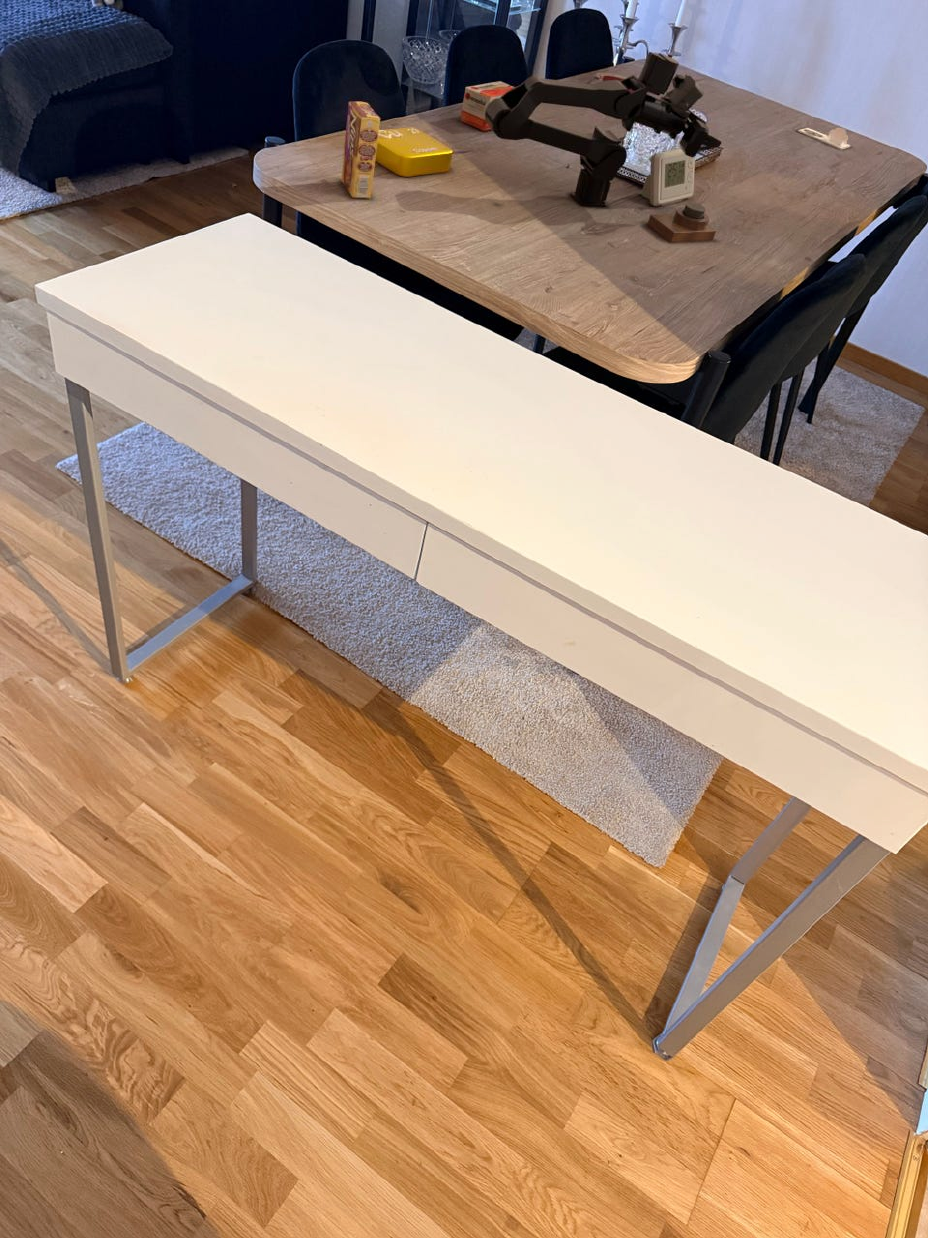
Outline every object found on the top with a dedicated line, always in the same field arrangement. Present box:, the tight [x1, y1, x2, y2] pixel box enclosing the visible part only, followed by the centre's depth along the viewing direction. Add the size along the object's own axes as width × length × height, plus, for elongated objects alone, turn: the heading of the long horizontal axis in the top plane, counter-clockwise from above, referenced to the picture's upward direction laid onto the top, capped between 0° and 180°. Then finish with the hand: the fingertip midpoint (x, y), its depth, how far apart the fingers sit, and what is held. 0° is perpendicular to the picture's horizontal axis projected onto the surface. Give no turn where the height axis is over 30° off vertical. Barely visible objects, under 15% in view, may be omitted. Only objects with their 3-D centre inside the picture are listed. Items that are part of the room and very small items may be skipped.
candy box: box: [341, 101, 381, 200], centre depth 182 cm, size 9×4×15 cm, turn 20°
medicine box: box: [460, 80, 516, 132], centre depth 231 cm, size 15×8×8 cm, turn 142°
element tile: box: [375, 126, 453, 178], centre depth 202 cm, size 15×15×5 cm
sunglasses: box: [595, 72, 633, 92], centre depth 278 cm, size 17×17×5 cm
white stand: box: [797, 127, 851, 150], centre depth 278 cm, size 15×7×4 cm, turn 46°
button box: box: [647, 206, 717, 243], centre depth 202 cm, size 12×9×4 cm
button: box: [683, 202, 706, 219], centre depth 201 cm, size 4×4×2 cm
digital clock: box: [640, 147, 696, 207], centre depth 213 cm, size 16×9×11 cm, turn 123°
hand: (712, 133), depth 203 cm, fingers open, 9 cm apart
